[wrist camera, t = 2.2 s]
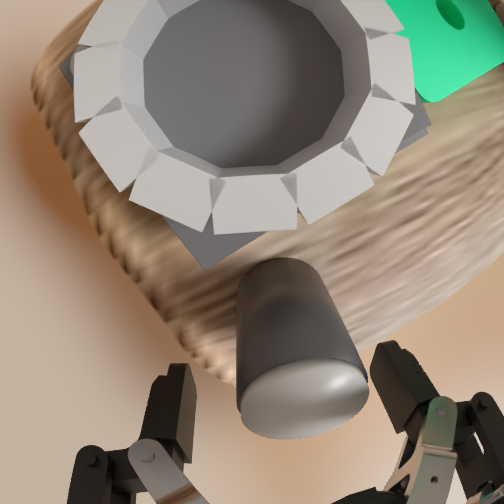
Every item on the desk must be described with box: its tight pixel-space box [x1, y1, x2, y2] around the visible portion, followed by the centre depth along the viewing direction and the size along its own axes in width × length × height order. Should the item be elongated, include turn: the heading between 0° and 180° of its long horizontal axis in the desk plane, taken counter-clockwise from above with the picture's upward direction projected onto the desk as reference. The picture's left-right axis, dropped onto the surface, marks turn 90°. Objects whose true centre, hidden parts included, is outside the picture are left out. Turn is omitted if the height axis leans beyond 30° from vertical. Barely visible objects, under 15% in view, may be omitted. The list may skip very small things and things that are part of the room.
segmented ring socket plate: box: [59, 0, 431, 270], centre depth 8 cm, size 10×10×6 cm
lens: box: [236, 258, 369, 439], centre depth 12 cm, size 5×5×8 cm
